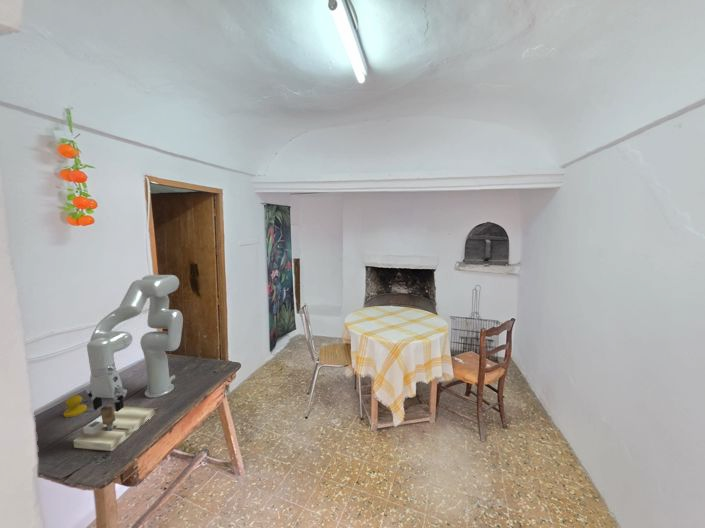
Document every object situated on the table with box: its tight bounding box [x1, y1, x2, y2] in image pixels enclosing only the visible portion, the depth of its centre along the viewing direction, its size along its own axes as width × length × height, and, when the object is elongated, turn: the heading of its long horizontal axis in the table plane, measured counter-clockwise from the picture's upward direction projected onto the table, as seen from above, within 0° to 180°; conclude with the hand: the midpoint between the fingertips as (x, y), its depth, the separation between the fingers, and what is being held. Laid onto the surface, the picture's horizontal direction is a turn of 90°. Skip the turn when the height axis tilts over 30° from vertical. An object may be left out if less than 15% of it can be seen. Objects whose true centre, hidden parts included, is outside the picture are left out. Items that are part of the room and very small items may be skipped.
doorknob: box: [63, 394, 88, 418], centre depth 140 cm, size 8×8×8 cm
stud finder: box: [82, 414, 106, 434], centre depth 126 cm, size 8×4×2 cm, turn 173°
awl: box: [100, 404, 115, 431], centre depth 125 cm, size 4×4×12 cm
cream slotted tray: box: [72, 406, 156, 452], centre depth 129 cm, size 22×16×3 cm
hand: (109, 408), depth 125 cm, fingers open, 9 cm apart
